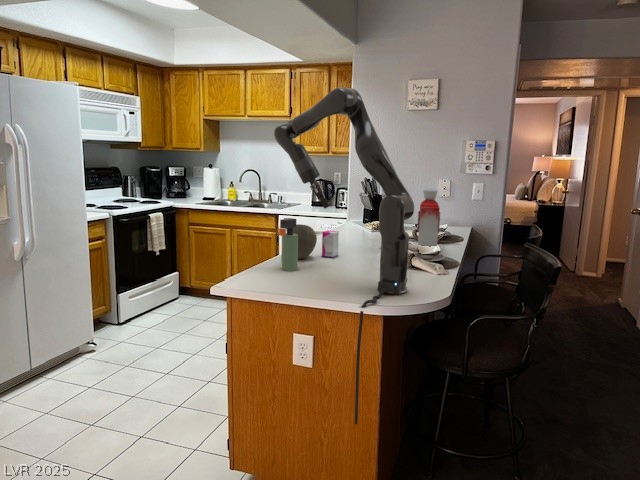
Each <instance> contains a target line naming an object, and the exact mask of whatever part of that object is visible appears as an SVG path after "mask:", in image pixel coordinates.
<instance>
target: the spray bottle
mask: <svg viewBox="0 0 640 480" xmlns="http://www.w3.org/2000/svg"><path fill="white" fill-rule="evenodd" d="M296 225H297V218H292V217H290V218H283V219H280V220H279V229H286V236H281V270H282V271H286V272H295V271H298V270H299V265H298V264H299V262H298V261H299V259H298V234H294V233H293V228H294V227H296Z"/></svg>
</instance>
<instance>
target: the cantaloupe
mask: <svg viewBox="0 0 640 480" xmlns="http://www.w3.org/2000/svg"><path fill="white" fill-rule="evenodd" d="M293 233H294V234H298V260H304V259H306V258H308V257H309V256H310V255H311V254H312V253H313V251H314V250H315V248H316V246H317V240H318V237H317V233H316V232H315V230H314V229H313V227H311V225H308V224H302V223H301V224H298V223H296V227H294V228H293Z"/></svg>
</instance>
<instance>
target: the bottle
mask: <svg viewBox="0 0 640 480" xmlns="http://www.w3.org/2000/svg"><path fill="white" fill-rule="evenodd" d="M437 195H438V189H435V188H424V189H423V197H424V200H423V201H421V203H420V204H419V211H417V225H416V226H417V228H416V232H417V233H418V235H417V239H416V240H417V246H418V245H421V246H429V247H431V246H437V247H438V242H439V241H438V238H439V233H440V229H441V228H440V226H441V212H440V210H441V209H440V205H439V203H438V202H437V200H435V199H436V198H437Z"/></svg>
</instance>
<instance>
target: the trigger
mask: <svg viewBox="0 0 640 480" xmlns="http://www.w3.org/2000/svg"><path fill="white" fill-rule="evenodd" d="M286 233H287V229H285V228H278V236H280V237H282V236H286Z"/></svg>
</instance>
